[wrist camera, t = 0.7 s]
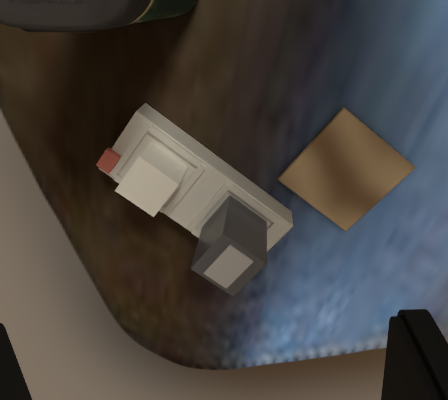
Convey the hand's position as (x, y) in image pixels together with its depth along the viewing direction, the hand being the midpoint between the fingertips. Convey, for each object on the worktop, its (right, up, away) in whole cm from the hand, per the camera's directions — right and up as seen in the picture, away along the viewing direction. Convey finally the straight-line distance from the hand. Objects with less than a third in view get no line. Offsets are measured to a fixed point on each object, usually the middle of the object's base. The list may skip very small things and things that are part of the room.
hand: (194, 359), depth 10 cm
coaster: (+12, +7, +30) cm, 33 cm away
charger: (+2, +2, +30) cm, 30 cm away
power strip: (-2, +5, +32) cm, 32 cm away
